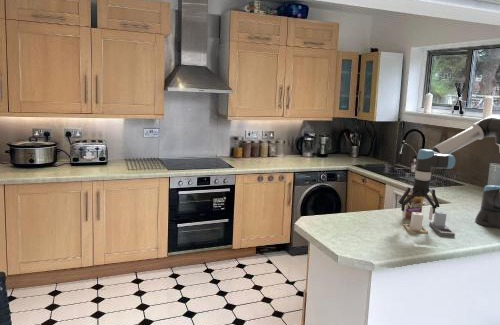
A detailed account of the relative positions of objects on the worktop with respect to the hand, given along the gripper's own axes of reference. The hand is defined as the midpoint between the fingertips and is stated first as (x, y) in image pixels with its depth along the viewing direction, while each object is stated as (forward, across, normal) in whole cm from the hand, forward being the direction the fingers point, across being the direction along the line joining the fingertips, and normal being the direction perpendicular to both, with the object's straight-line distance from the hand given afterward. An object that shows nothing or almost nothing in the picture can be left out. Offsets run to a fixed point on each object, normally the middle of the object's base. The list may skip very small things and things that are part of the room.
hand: (416, 218), depth 220 cm
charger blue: (+6, -14, -6) cm, 17 cm away
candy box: (+7, -4, -21) cm, 23 cm away
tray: (+7, 0, 0) cm, 7 cm away
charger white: (+6, 0, 0) cm, 6 cm away
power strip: (+7, -14, -6) cm, 17 cm away
